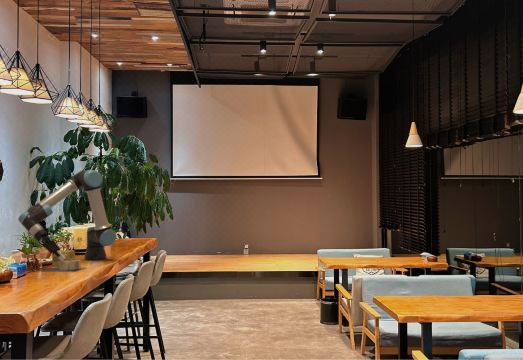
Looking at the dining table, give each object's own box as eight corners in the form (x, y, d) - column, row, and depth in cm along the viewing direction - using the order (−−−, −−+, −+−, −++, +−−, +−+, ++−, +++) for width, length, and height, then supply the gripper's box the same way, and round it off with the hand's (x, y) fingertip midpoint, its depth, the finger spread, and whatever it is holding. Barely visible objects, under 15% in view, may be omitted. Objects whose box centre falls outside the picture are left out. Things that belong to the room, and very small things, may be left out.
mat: (55, 268, 317) (55, 267, 317) (87, 268, 314) (87, 267, 314) (40, 272, 302) (40, 271, 302) (74, 273, 299) (74, 272, 299)
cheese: (66, 267, 320) (66, 252, 320) (51, 267, 322) (51, 251, 322) (75, 265, 330) (75, 250, 330) (60, 264, 332) (60, 249, 332)
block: (62, 260, 311) (80, 260, 309) (62, 268, 311) (80, 268, 309) (58, 262, 306) (76, 261, 304) (58, 270, 306) (76, 269, 304)
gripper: (40, 236, 317) (65, 262, 314) (28, 238, 304) (53, 265, 301) (48, 227, 317) (73, 254, 314) (36, 229, 304) (61, 256, 301)
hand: (63, 259), depth 308 cm, fingers closed
